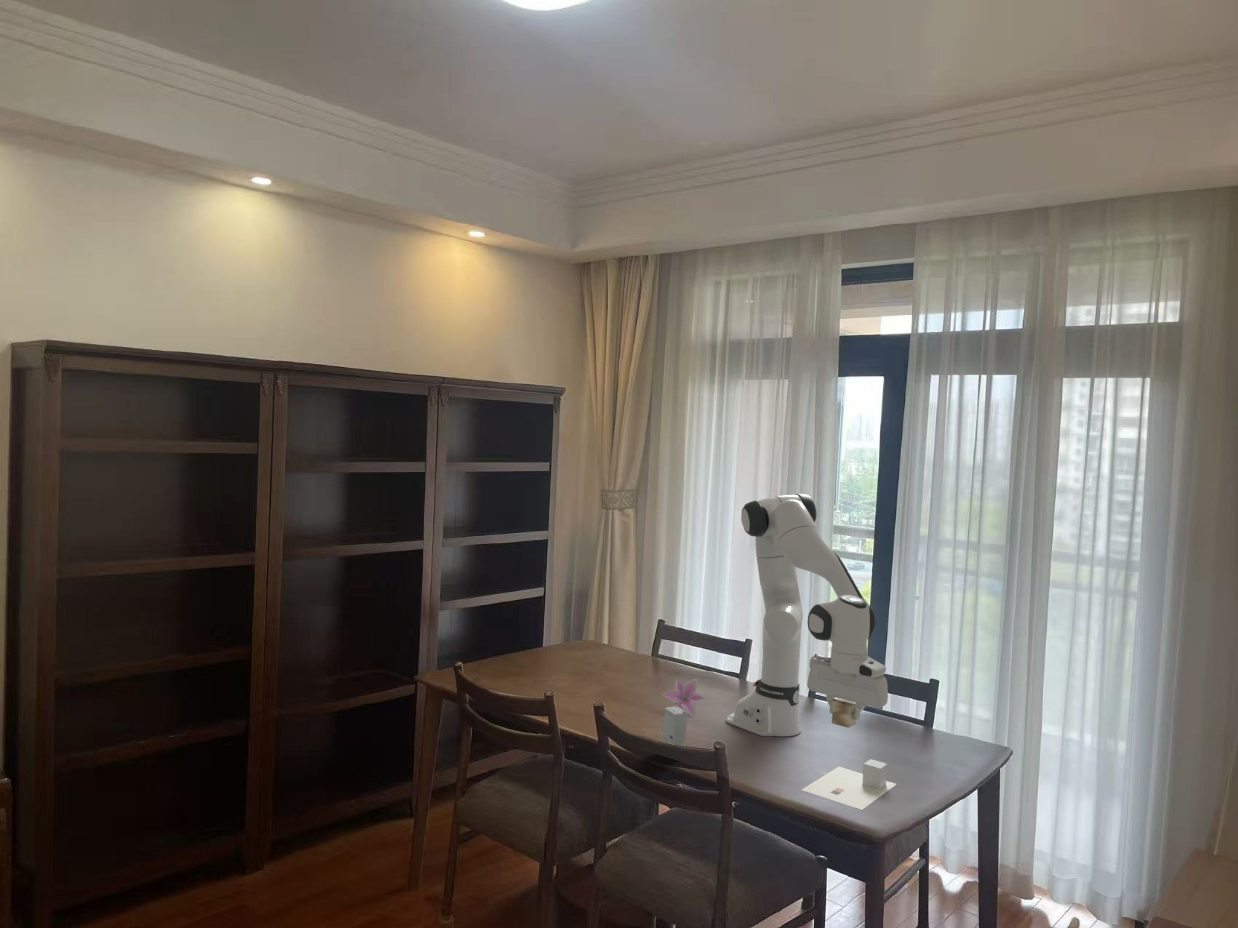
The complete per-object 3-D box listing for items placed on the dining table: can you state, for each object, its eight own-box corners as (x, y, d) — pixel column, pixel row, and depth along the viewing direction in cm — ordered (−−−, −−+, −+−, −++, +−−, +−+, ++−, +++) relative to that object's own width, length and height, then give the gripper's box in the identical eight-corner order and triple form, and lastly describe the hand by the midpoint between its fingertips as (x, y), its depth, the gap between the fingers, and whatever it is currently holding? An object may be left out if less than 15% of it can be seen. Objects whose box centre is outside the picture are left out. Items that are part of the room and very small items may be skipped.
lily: (657, 710, 280) (659, 689, 274) (679, 690, 287) (681, 669, 282) (687, 730, 273) (690, 709, 268) (709, 709, 281) (712, 688, 276)
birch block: (831, 723, 220) (833, 701, 220) (839, 719, 223) (840, 697, 223) (848, 727, 217) (850, 705, 217) (856, 723, 221) (857, 702, 220)
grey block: (862, 784, 225) (863, 763, 225) (869, 779, 228) (870, 758, 228) (879, 789, 222) (880, 768, 222) (886, 784, 225) (887, 763, 225)
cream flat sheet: (800, 790, 219) (801, 789, 219) (838, 767, 237) (838, 766, 236) (861, 810, 209) (861, 809, 209) (896, 784, 226) (896, 783, 226)
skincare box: (660, 750, 242) (663, 706, 242) (675, 748, 244) (677, 705, 243) (670, 758, 236) (673, 714, 236) (685, 756, 238) (688, 712, 238)
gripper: (805, 655, 224) (801, 708, 224) (882, 673, 211) (878, 729, 211) (816, 651, 229) (812, 703, 229) (892, 668, 216) (888, 723, 216)
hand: (844, 716), depth 220 cm, fingers closed on birch block, 4 cm apart
